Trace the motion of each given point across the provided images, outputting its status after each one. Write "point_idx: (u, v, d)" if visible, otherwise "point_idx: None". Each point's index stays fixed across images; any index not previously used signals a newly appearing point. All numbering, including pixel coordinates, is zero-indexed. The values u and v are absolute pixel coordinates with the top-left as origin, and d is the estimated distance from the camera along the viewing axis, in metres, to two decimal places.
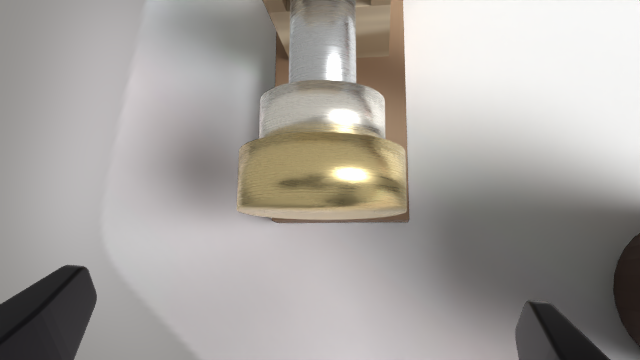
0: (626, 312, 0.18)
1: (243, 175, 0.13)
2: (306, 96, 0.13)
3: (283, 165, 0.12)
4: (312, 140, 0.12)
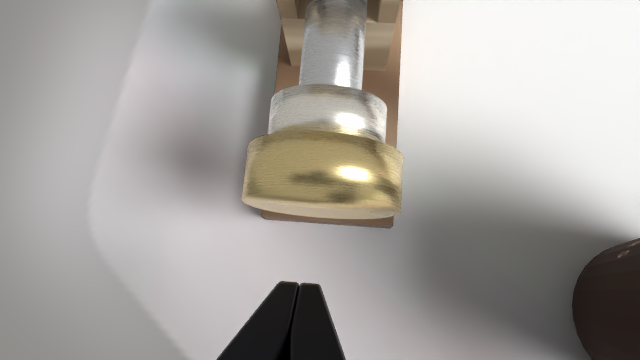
0: (583, 325, 0.20)
1: (253, 166, 0.14)
2: (319, 98, 0.14)
3: (295, 159, 0.13)
4: (324, 139, 0.13)
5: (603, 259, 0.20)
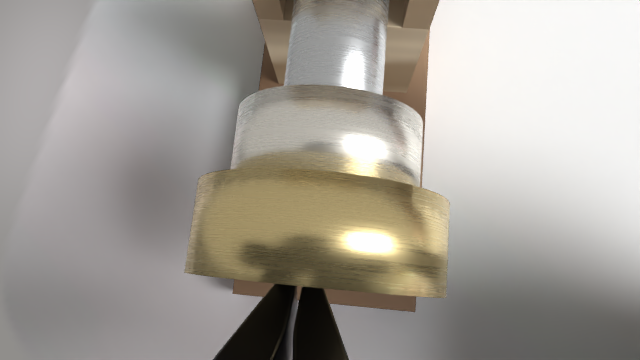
0: None
1: (200, 223, 0.08)
2: (314, 109, 0.08)
3: (267, 220, 0.07)
4: (320, 184, 0.07)
5: None
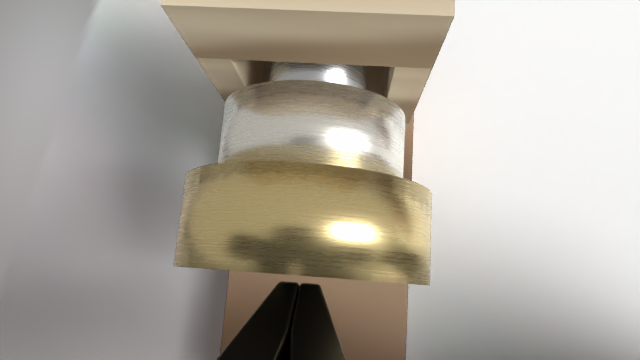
0: None
1: (187, 217, 0.08)
2: (295, 104, 0.08)
3: (251, 212, 0.07)
4: (301, 175, 0.07)
5: None
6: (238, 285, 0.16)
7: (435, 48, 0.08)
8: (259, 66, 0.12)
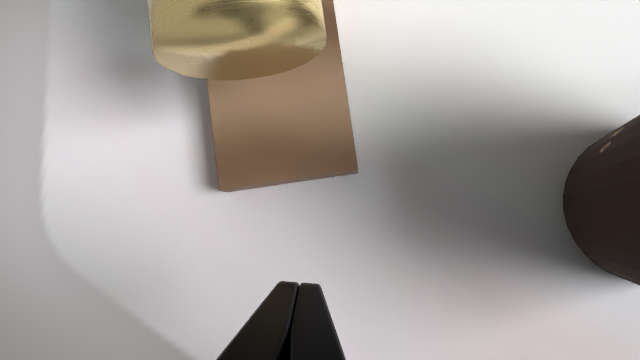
0: (577, 230, 0.19)
1: (152, 11, 0.13)
2: None
3: None
4: None
5: (587, 156, 0.18)
6: (219, 120, 0.20)
7: None
8: None
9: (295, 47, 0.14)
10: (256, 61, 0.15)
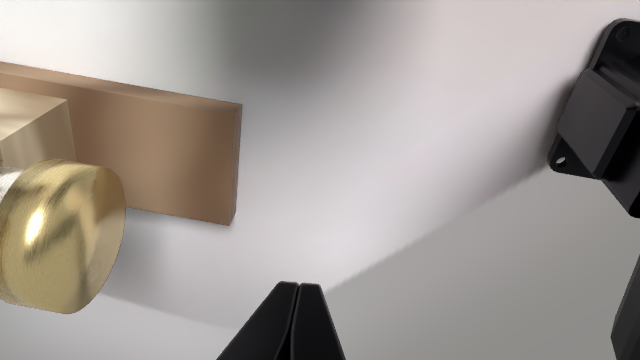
0: None
1: None
2: None
3: (22, 299, 0.15)
4: None
5: None
6: (169, 208, 0.23)
7: None
8: None
9: (92, 195, 0.16)
10: (105, 217, 0.17)
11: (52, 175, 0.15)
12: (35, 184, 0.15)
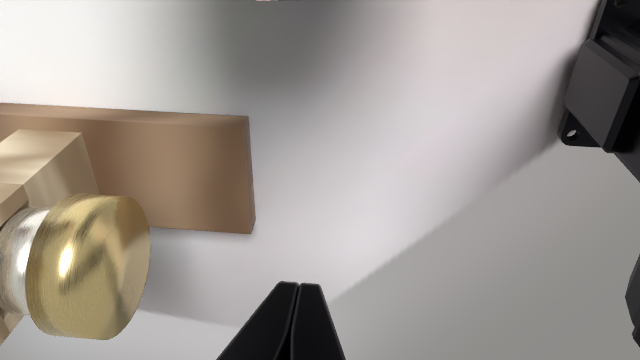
0: None
1: None
2: (9, 304, 0.16)
3: (63, 331, 0.16)
4: (37, 316, 0.15)
5: None
6: (191, 223, 0.24)
7: None
8: None
9: (116, 225, 0.17)
10: (131, 244, 0.18)
11: (76, 212, 0.16)
12: (61, 222, 0.15)
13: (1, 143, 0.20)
